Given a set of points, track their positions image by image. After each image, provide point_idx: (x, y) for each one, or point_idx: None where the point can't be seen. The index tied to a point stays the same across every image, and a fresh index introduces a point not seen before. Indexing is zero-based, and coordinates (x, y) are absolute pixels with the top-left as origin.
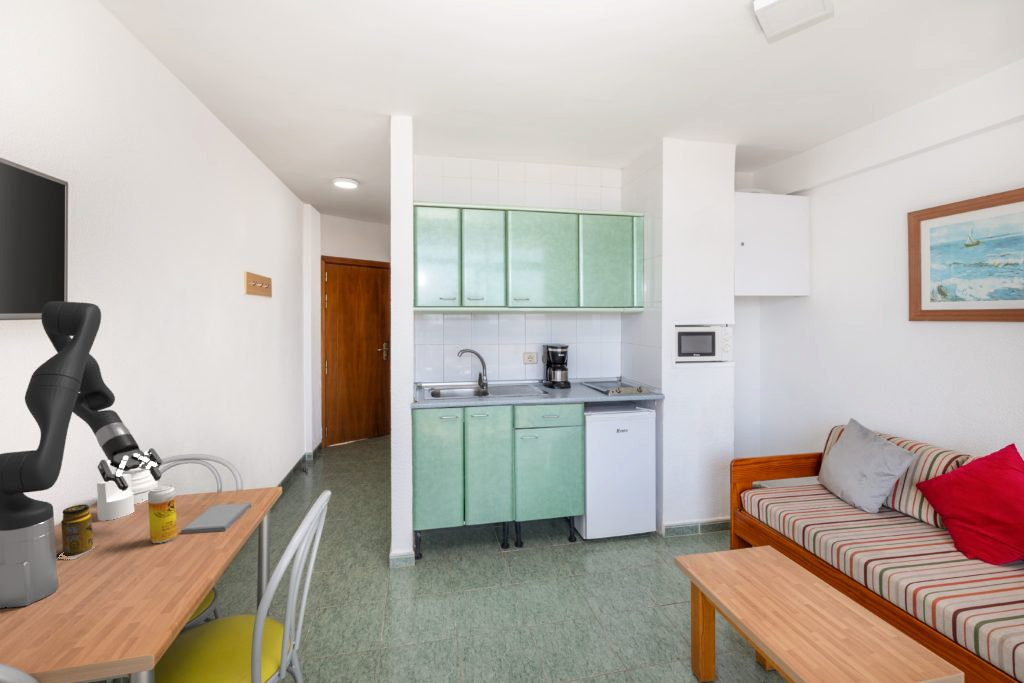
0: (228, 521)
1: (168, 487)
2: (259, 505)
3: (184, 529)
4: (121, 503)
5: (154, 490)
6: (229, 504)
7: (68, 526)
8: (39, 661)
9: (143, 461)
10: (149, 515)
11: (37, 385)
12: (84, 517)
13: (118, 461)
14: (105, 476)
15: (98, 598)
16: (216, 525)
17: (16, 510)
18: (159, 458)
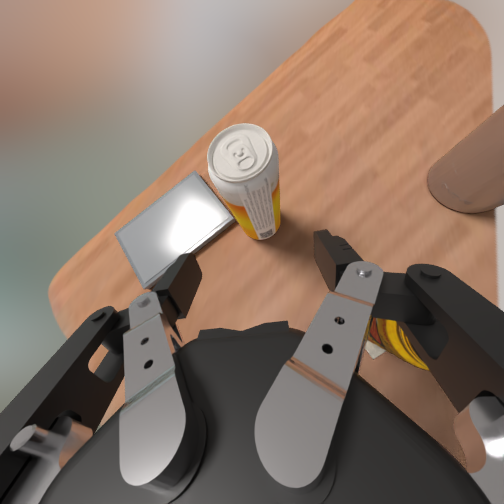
0: (180, 184)
1: (222, 146)
2: (113, 228)
3: (230, 214)
4: None
5: (259, 152)
6: (130, 262)
7: None
8: (462, 20)
9: (168, 334)
10: (279, 197)
11: None
12: None
13: (378, 419)
14: (436, 336)
15: (388, 104)
16: (197, 185)
17: None
18: (71, 341)
